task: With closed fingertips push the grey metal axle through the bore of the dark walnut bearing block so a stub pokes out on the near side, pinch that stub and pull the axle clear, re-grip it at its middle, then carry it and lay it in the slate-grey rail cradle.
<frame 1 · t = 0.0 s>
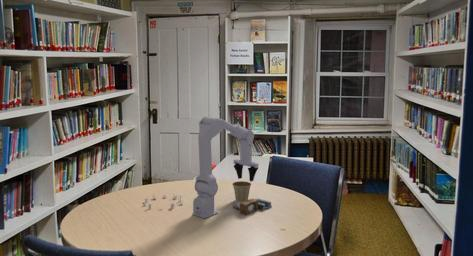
hand: (245, 179, 218), 10 cm above the table, fingers open, 7 cm apart
game piece set: (163, 204, 213), on the table
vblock: (260, 206, 208), on the table
flower pot: (241, 200, 218), on the table
axle: (243, 206, 203), point 2 cm above the table
beam: (249, 211, 201), on the table
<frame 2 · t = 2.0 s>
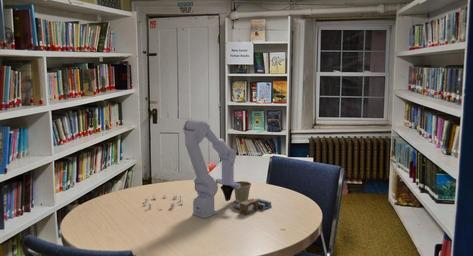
hand: (227, 200, 210), 3 cm above the table, fingers closed
nothing on the table moved.
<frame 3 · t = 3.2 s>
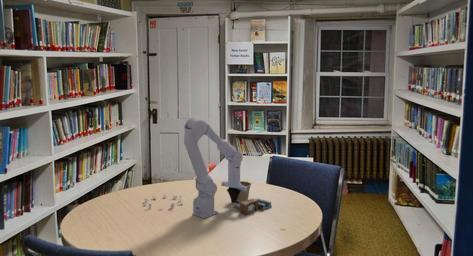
hand: (234, 203, 207), 2 cm above the table, fingers closed
axle: (244, 206, 203), point 2 cm above the table, tilted 6°, touching gripper
everything else where it was.
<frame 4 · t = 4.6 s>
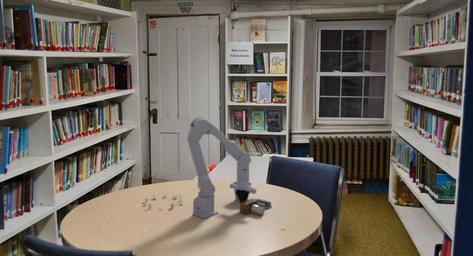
hand: (242, 205, 203), 2 cm above the table, fingers closed
axle: (253, 208, 200), point 2 cm above the table, tilted 7°, touching gripper
everything else where it was.
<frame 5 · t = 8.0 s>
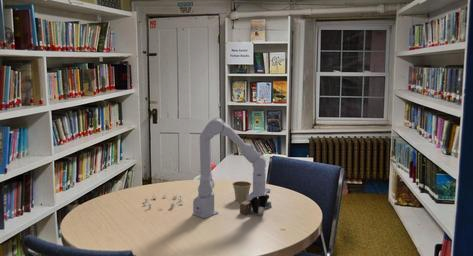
hand: (258, 211, 197), 1 cm above the table, fingers closed on axle, 4 cm apart
axle: (253, 208, 200), point 2 cm above the table, touching gripper
everything else where it was.
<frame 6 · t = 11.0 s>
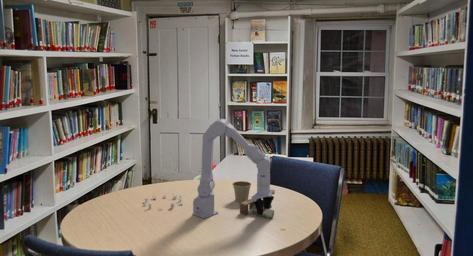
hand: (263, 213, 196), 1 cm above the table, fingers closed on axle, 4 cm apart
axle: (262, 211, 196), point 2 cm above the table, touching gripper
everything else where it was.
when the fingers open (5 cm above the table, at t = 14.2 s): axle drops 1 cm, resting on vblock.
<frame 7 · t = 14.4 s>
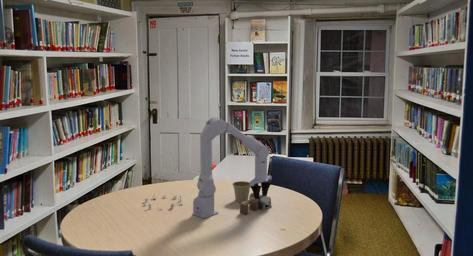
hand: (260, 197, 208), 5 cm above the table, fingers open, 5 cm apart
axle: (260, 198, 208), point 4 cm above the table, touching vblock
everything else where it was.
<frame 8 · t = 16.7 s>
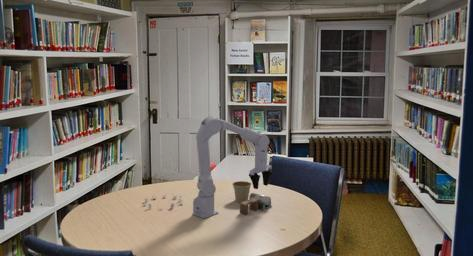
hand: (260, 186, 207), 10 cm above the table, fingers open, 7 cm apart
nothing on the table moved.
at the end: axle inside the target area on the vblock (0.3 cm from its centre), point 3.9 cm above the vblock's base; axle touching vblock; the gripper is holding nothing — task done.
